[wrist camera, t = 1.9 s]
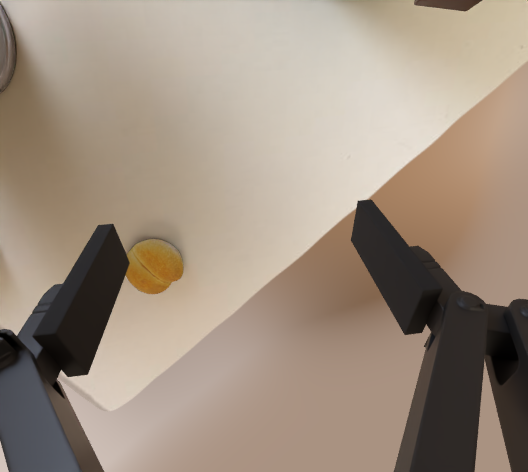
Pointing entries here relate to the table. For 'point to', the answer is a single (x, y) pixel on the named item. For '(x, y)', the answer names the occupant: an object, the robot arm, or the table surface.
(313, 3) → the table surface
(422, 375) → the robot arm
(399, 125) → the table surface
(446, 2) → the brown orange rod
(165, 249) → the bread roll
